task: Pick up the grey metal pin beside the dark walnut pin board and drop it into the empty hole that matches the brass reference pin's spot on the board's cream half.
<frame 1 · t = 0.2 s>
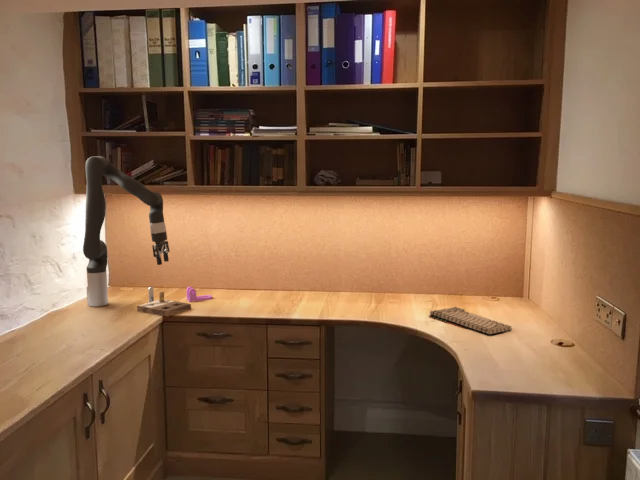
hand: (163, 263, 271), 22 cm above the table, tool pointing down, fingers open, 8 cm apart
bracket: (200, 300, 286), on the table
mechanical keyboard: (469, 324, 244), on the table
grey metal pin: (151, 304, 275), on the table
pin board: (164, 309, 264), on the table
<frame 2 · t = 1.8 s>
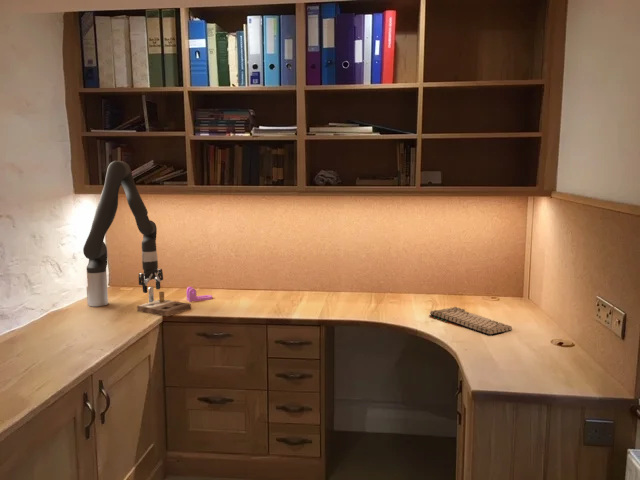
hand: (151, 290, 274), 7 cm above the table, tool pointing down, fingers open, 8 cm apart
nothing on the table moved.
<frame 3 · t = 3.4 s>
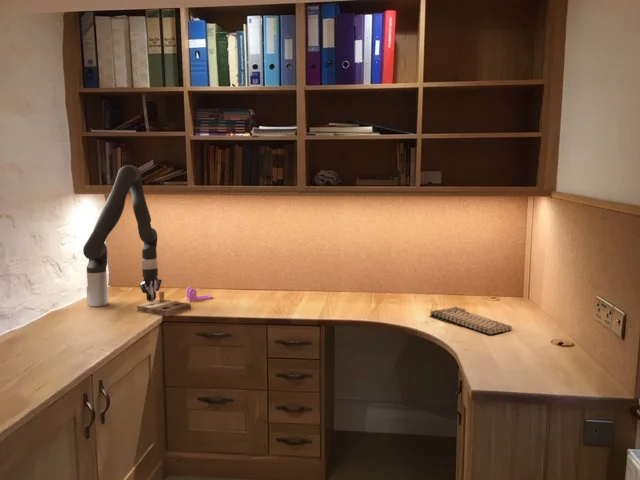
hand: (151, 300, 275), 2 cm above the table, tool pointing down, fingers closed on grey metal pin, 2 cm apart
grey metal pin: (151, 304, 275), on the table, touching gripper
everything else where it was.
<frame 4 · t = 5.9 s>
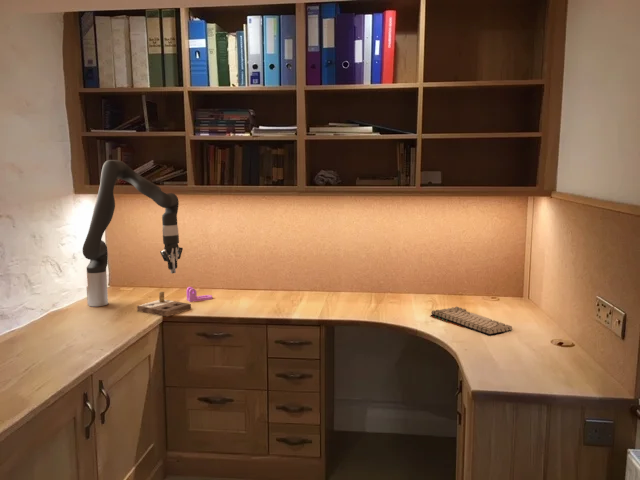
hand: (172, 268, 264), 20 cm above the table, tool pointing down, fingers closed on grey metal pin, 2 cm apart
grey metal pin: (173, 272, 264), point 18 cm above the table, touching gripper
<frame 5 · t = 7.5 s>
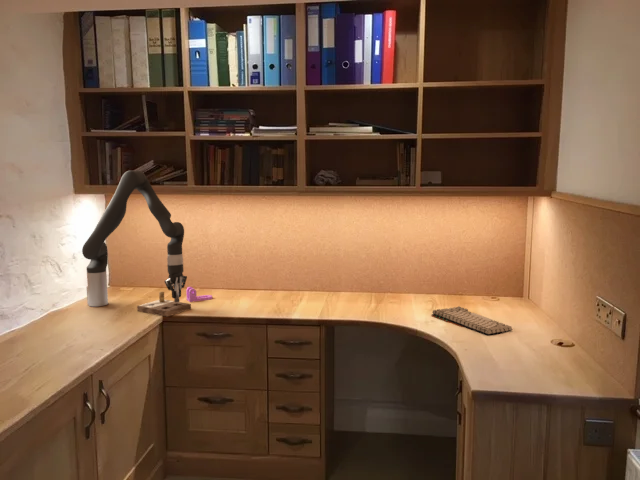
hand: (176, 297, 264), 6 cm above the table, tool pointing down, fingers closed on grey metal pin, 2 cm apart
grey metal pin: (176, 301, 264), point 4 cm above the table, touching gripper
when the fingers open (4 cm above the table, at t = 8.6 s): grey metal pin drops 1 cm, resting in pin board.
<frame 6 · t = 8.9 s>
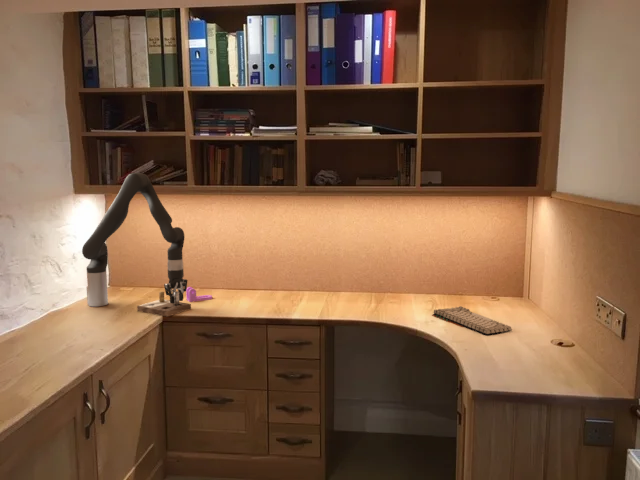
hand: (176, 301, 264), 4 cm above the table, tool pointing down, fingers open, 5 cm apart
grey metal pin: (177, 309, 265), resting in pin board
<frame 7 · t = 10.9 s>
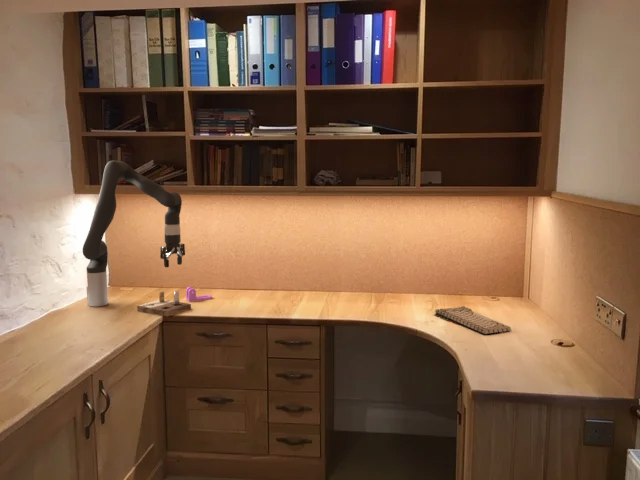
hand: (173, 265, 265), 22 cm above the table, tool pointing down, fingers open, 8 cm apart
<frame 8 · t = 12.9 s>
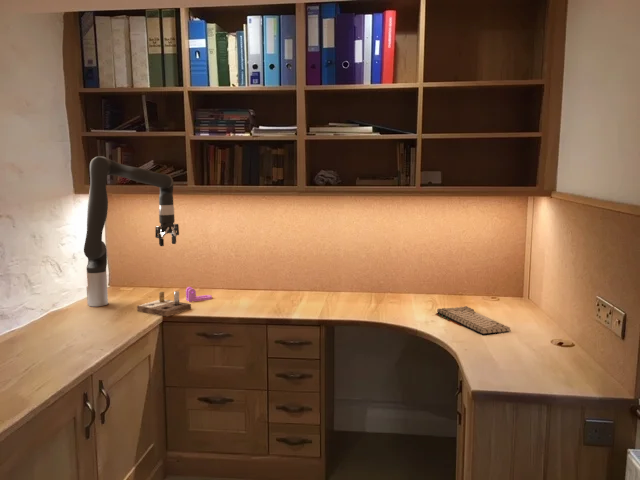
hand: (167, 245, 276), 30 cm above the table, tool pointing down, fingers open, 8 cm apart
at the end: grey metal pin 0.1 cm from the target spot on the pin board, point 0.0 cm above the pin board's base; grey metal pin tilted 0°; the gripper is holding nothing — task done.
